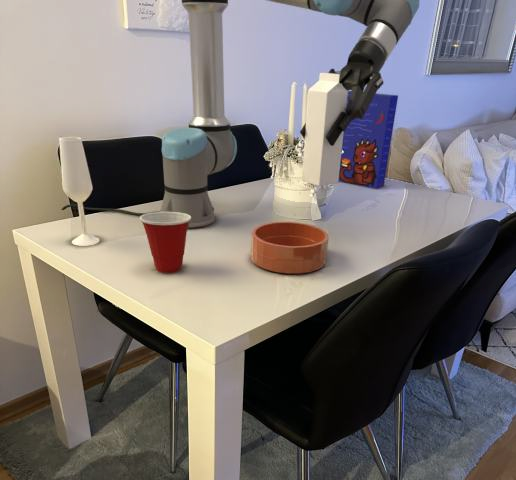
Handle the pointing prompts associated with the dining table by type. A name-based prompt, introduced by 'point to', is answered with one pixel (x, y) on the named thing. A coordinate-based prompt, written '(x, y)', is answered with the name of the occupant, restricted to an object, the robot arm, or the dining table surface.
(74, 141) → the champagne flute
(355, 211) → the dining table surface
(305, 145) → the milk
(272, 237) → the bowl
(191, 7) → the robot arm
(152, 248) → the plastic cup
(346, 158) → the cereal box
